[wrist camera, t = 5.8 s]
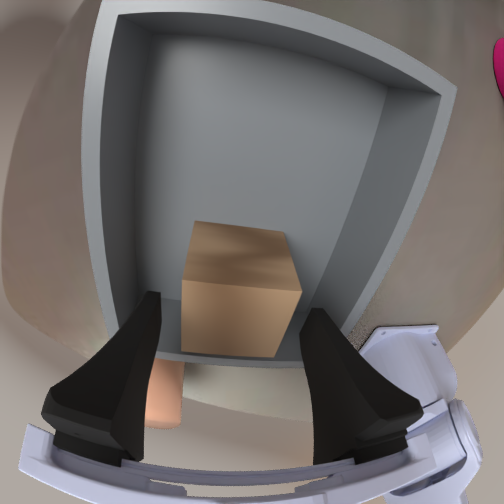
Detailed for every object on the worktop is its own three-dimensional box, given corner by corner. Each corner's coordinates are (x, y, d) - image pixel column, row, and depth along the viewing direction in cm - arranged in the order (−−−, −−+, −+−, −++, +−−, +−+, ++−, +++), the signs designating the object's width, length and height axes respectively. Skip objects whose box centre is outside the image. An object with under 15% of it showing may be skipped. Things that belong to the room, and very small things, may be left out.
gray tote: (397, 79, 11) (457, 87, 7) (310, 313, 21) (325, 367, 16) (143, 22, 9) (102, -2, 5) (131, 295, 18) (113, 350, 14)
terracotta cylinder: (186, 334, 21) (179, 412, 15) (185, 365, 24) (181, 432, 18) (128, 325, 20) (109, 399, 14) (135, 357, 23) (122, 422, 17)
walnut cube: (283, 231, 16) (302, 291, 11) (264, 295, 18) (273, 357, 14) (194, 220, 15) (182, 279, 11) (189, 288, 17) (181, 351, 13)
